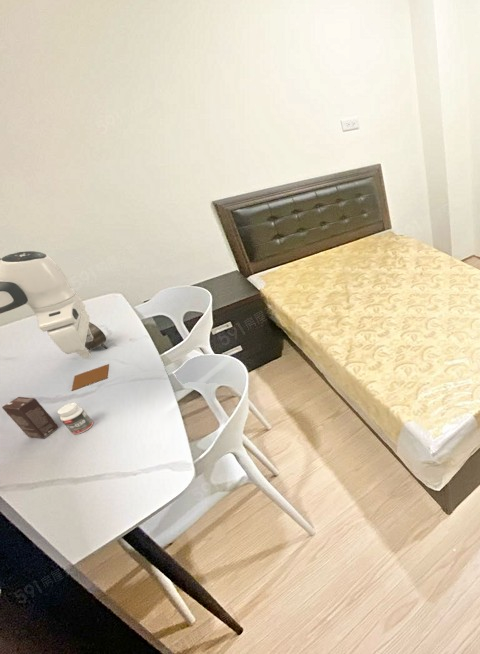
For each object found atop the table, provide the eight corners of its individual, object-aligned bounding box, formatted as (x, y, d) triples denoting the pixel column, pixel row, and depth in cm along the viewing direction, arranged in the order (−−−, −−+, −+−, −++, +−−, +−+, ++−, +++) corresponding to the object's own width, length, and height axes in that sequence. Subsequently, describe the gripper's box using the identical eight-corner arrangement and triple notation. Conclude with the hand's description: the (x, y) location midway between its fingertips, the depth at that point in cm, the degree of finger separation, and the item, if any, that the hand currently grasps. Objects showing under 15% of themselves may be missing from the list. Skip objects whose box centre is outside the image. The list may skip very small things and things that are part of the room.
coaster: (72, 390, 131) (71, 390, 131) (75, 376, 137) (74, 375, 137) (107, 378, 135) (106, 377, 135) (108, 364, 142) (108, 363, 142)
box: (61, 426, 118) (35, 397, 112) (43, 439, 114) (16, 410, 108) (44, 424, 119) (18, 395, 113) (27, 437, 115) (-1, 408, 109)
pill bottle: (72, 437, 114) (54, 417, 110) (72, 427, 117) (55, 408, 113) (93, 428, 117) (77, 408, 113) (93, 418, 120) (77, 399, 116)
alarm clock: (113, 346, 151) (90, 311, 143) (98, 355, 146) (73, 319, 138) (92, 342, 153) (68, 308, 145) (77, 351, 149) (51, 316, 141)
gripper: (49, 297, 111) (77, 336, 118) (37, 330, 97) (69, 372, 104) (79, 289, 114) (105, 327, 121) (71, 319, 100) (101, 361, 107)
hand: (88, 348), depth 112 cm, fingers open, 8 cm apart
